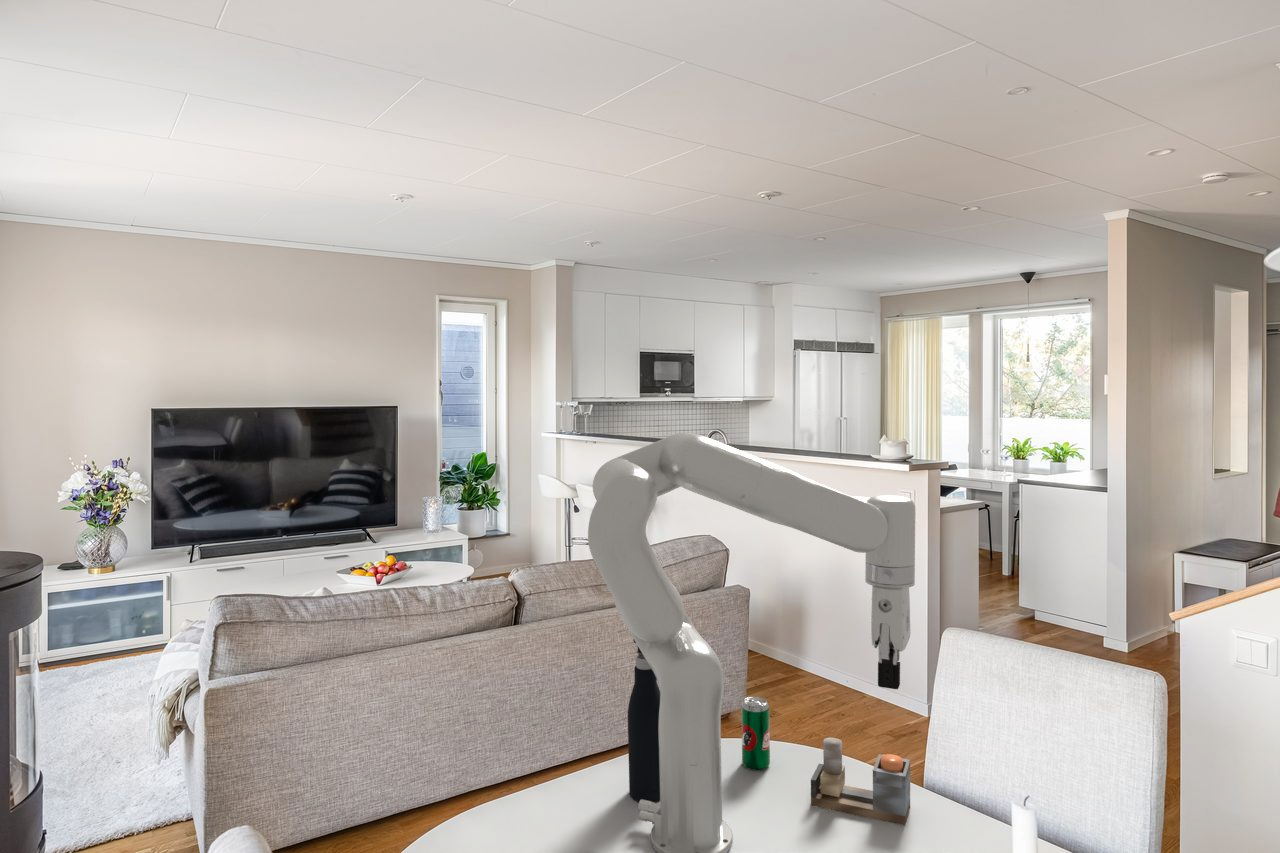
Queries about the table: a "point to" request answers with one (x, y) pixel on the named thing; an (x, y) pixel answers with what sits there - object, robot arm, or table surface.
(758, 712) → the soda can
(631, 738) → the wine bottle
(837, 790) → the carriage
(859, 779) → the table surface
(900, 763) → the button
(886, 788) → the stand
